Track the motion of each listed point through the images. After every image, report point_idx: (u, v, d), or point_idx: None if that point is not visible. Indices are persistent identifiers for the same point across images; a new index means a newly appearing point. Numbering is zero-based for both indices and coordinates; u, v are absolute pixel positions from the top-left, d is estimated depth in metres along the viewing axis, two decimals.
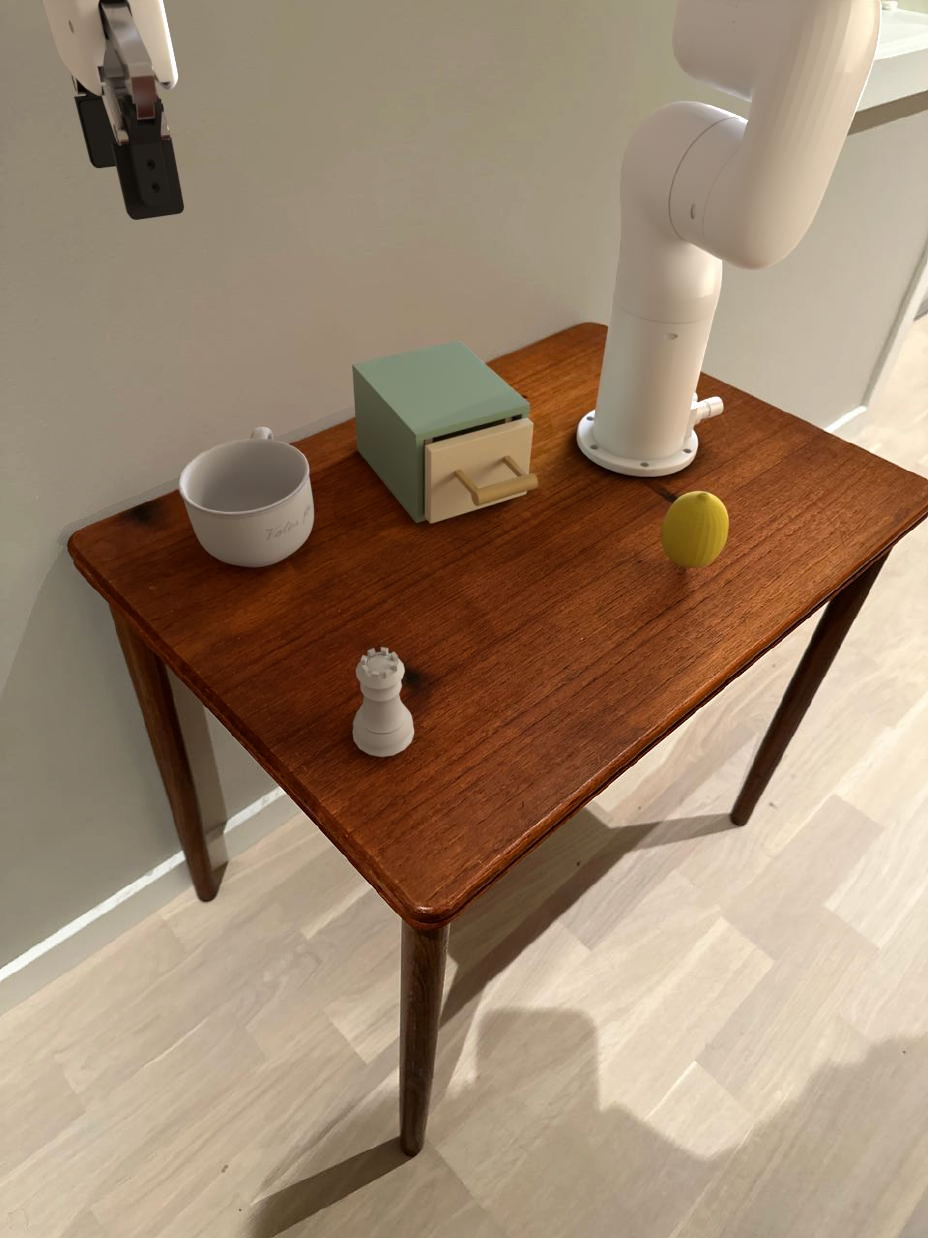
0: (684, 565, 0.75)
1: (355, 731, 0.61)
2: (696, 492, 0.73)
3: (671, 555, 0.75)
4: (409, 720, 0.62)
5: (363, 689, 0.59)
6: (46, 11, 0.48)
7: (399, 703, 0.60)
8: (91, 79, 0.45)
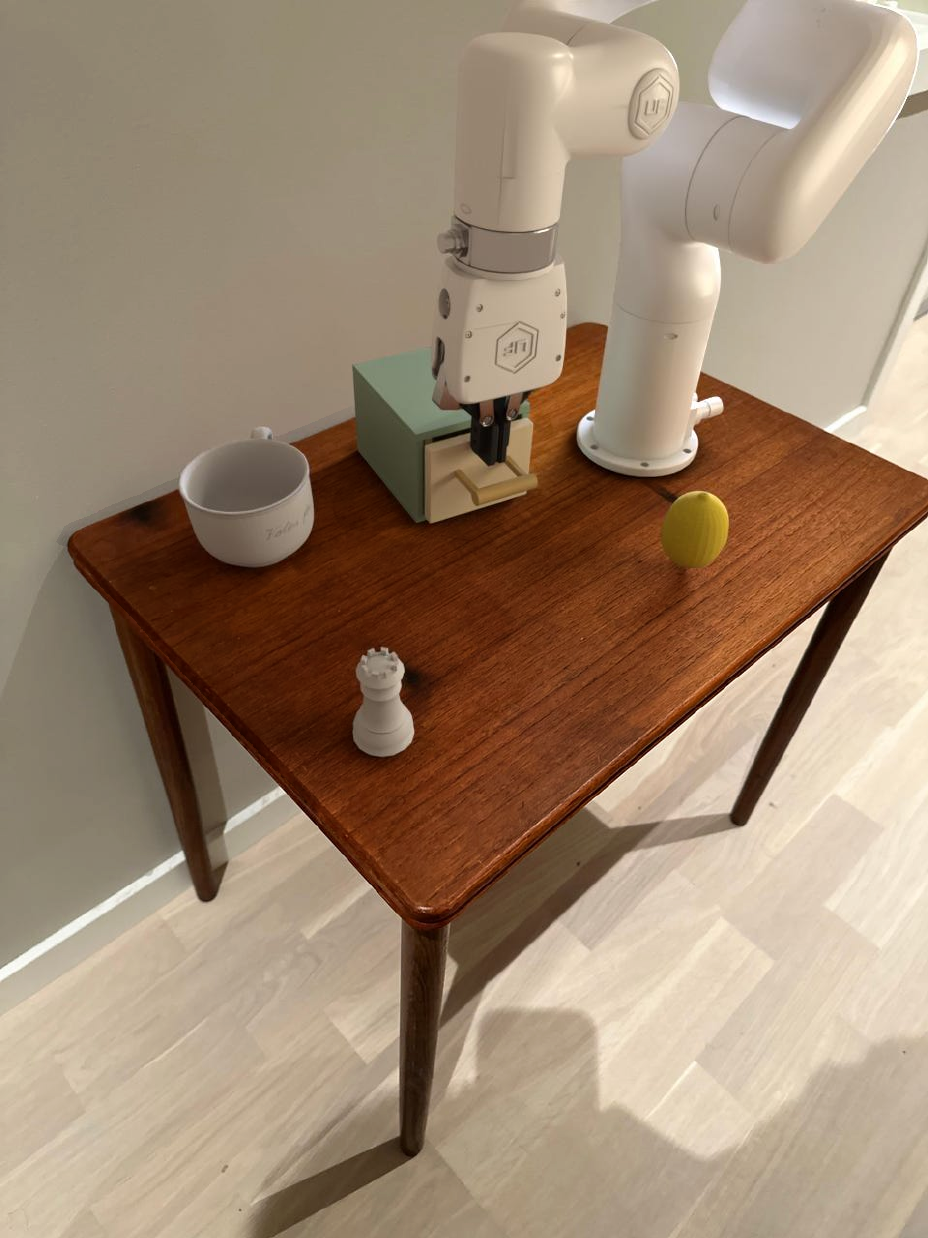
0: (684, 565, 0.75)
1: (355, 731, 0.61)
2: (696, 492, 0.73)
3: (671, 555, 0.75)
4: (409, 720, 0.62)
5: (363, 689, 0.59)
6: None
7: (399, 703, 0.60)
8: None
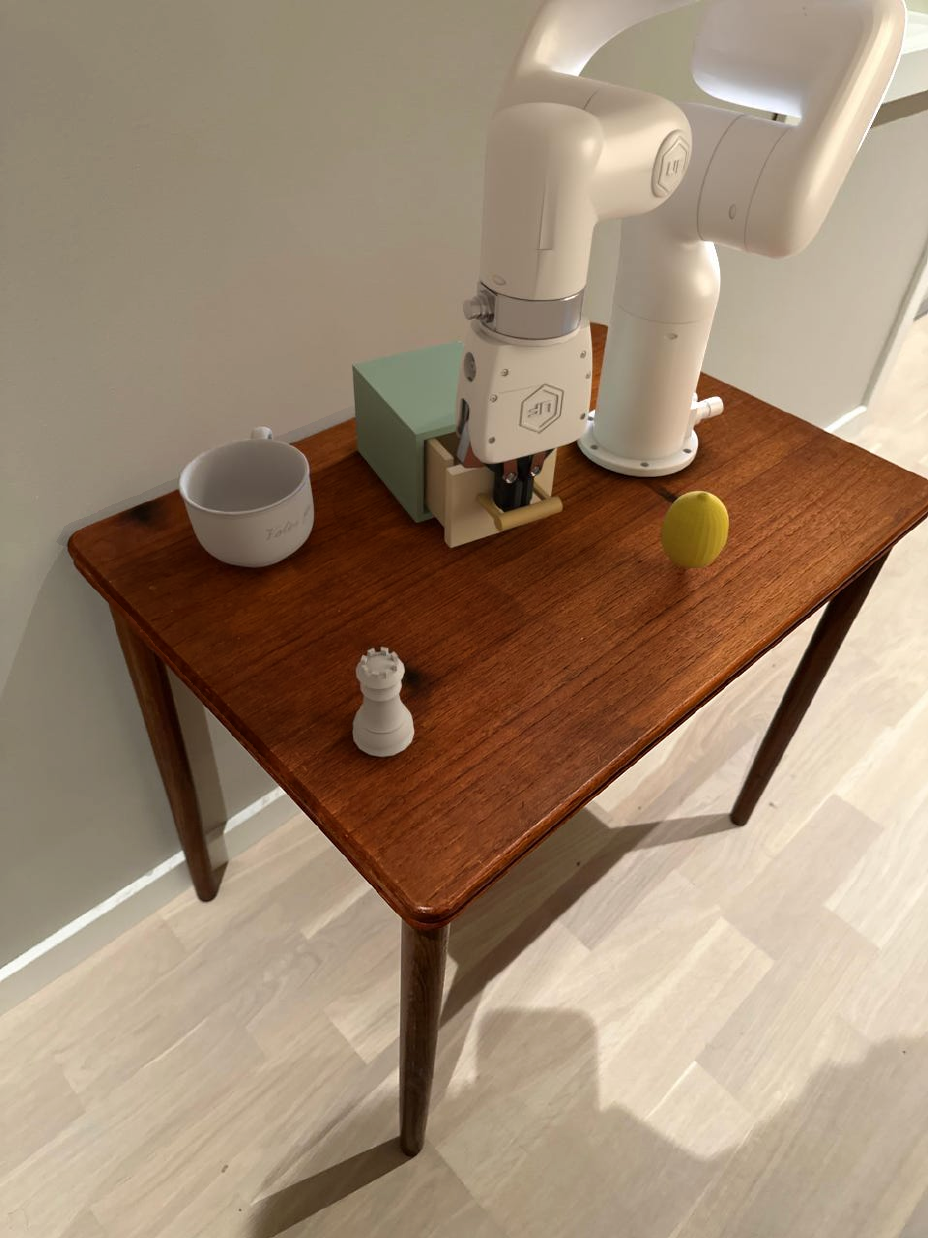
0: (684, 565, 0.75)
1: (355, 731, 0.61)
2: (696, 492, 0.73)
3: (671, 555, 0.75)
4: (409, 720, 0.62)
5: (363, 689, 0.59)
6: None
7: (399, 703, 0.60)
8: None
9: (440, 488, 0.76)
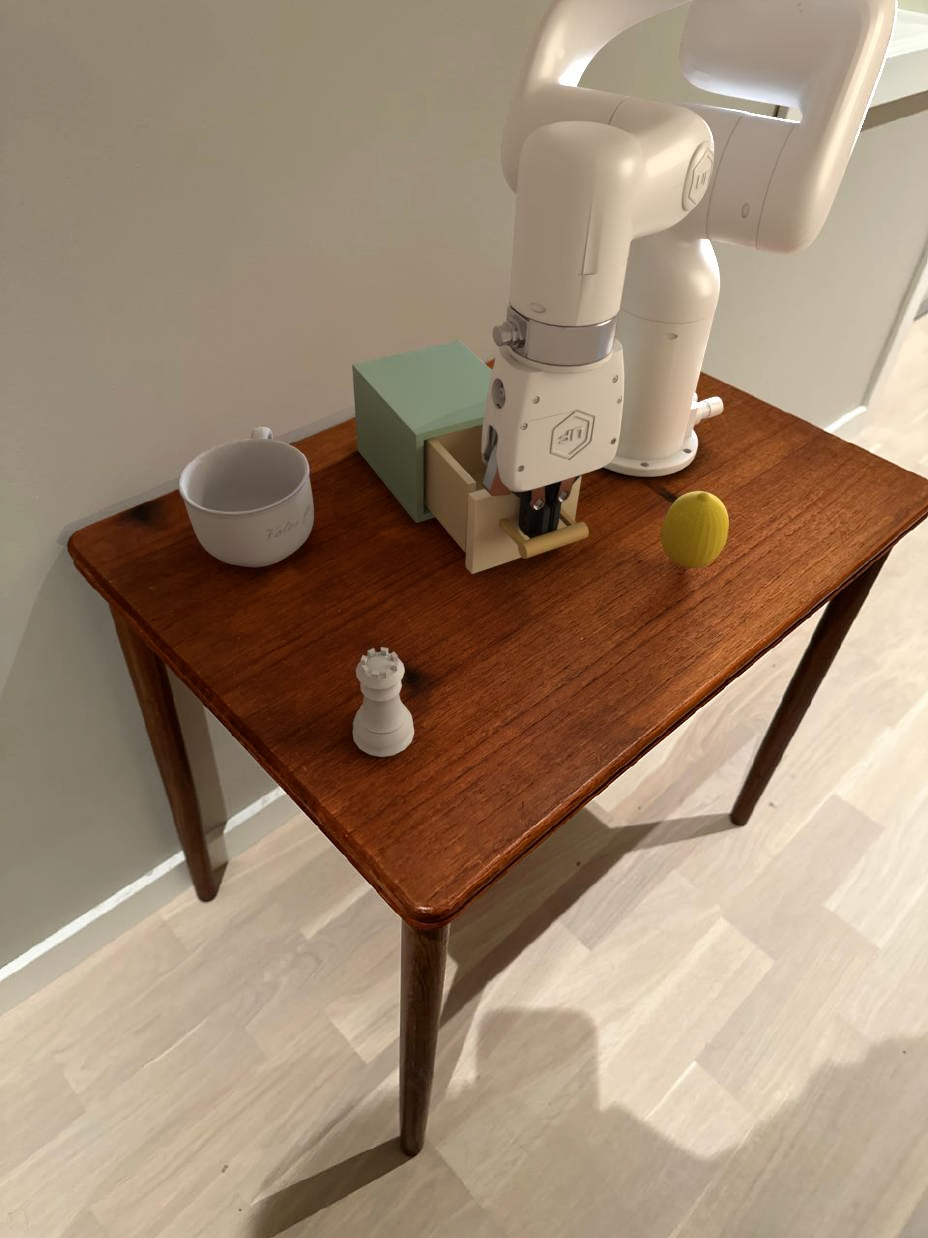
0: (684, 565, 0.75)
1: (355, 731, 0.61)
2: (696, 492, 0.73)
3: (671, 555, 0.75)
4: (409, 720, 0.62)
5: (363, 689, 0.59)
6: None
7: (399, 703, 0.60)
8: None
9: (461, 512, 0.74)
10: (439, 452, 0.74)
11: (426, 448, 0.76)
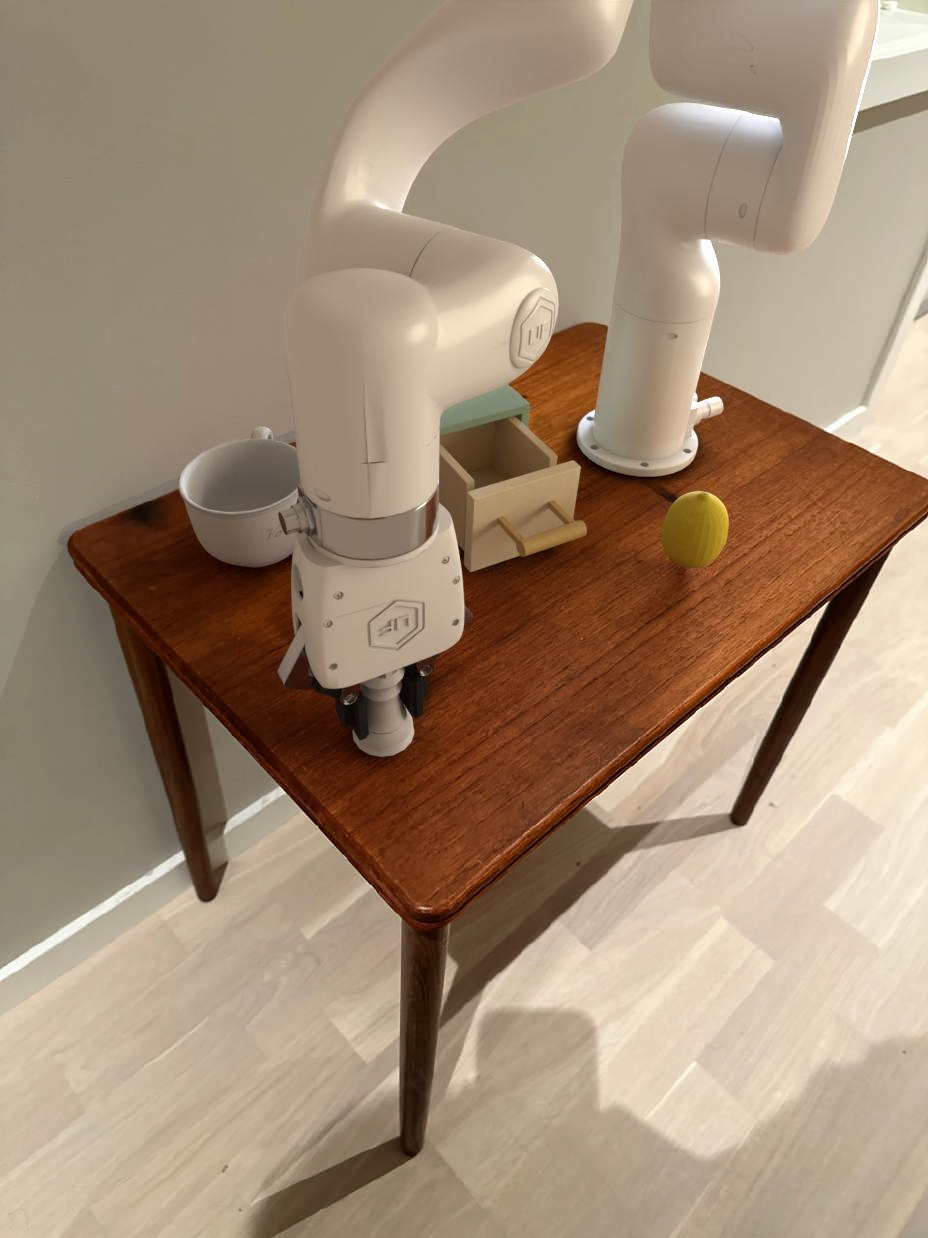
0: (684, 565, 0.75)
1: None
2: (696, 492, 0.73)
3: (671, 555, 0.75)
4: (409, 720, 0.62)
5: (363, 689, 0.59)
6: None
7: (399, 703, 0.60)
8: None
9: (460, 511, 0.74)
10: None
11: None
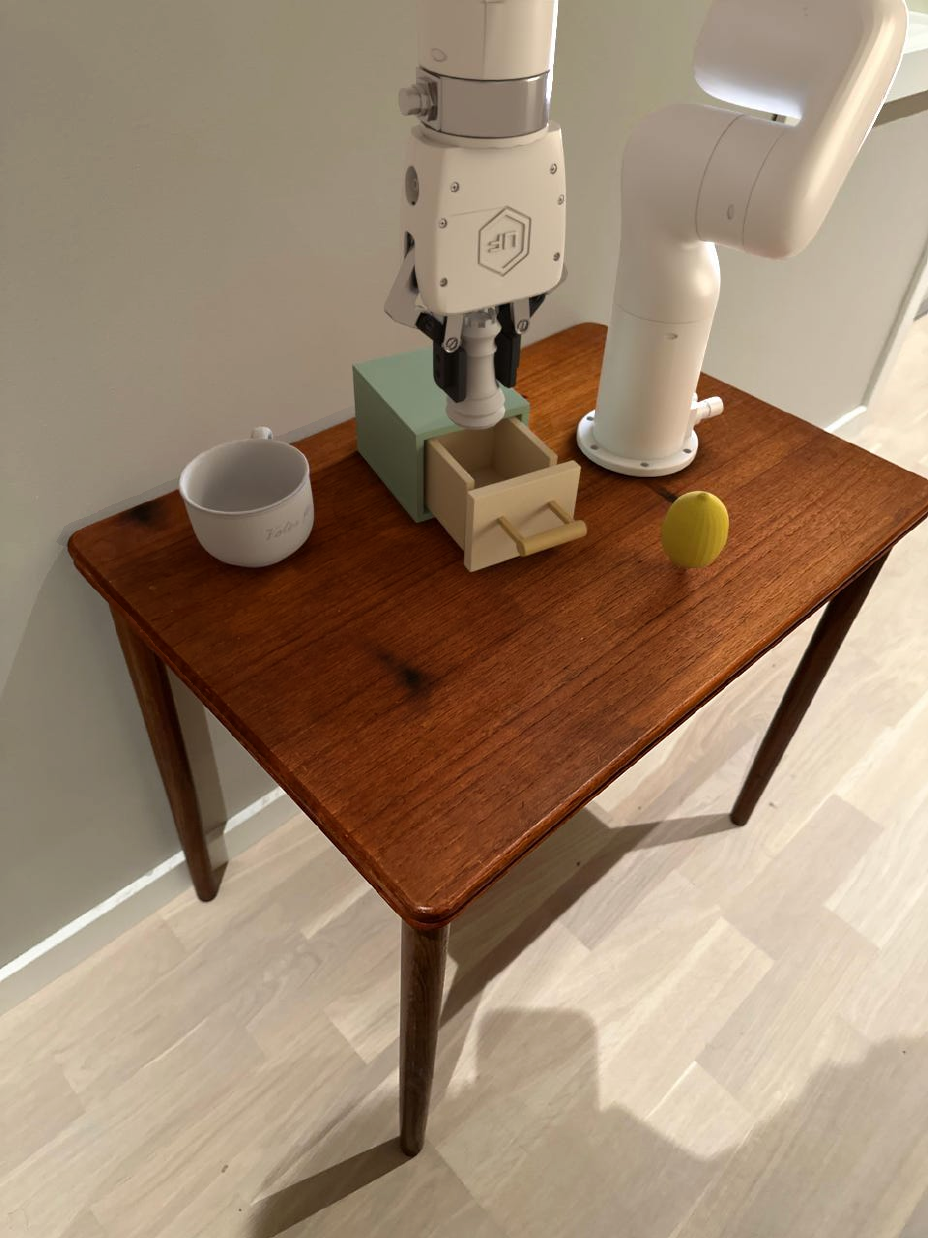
0: (684, 565, 0.75)
1: (449, 402, 0.63)
2: (696, 492, 0.73)
3: (671, 555, 0.75)
4: (501, 393, 0.63)
5: None
6: None
7: (493, 368, 0.61)
8: None
9: (460, 511, 0.74)
10: (438, 450, 0.74)
11: (425, 446, 0.77)
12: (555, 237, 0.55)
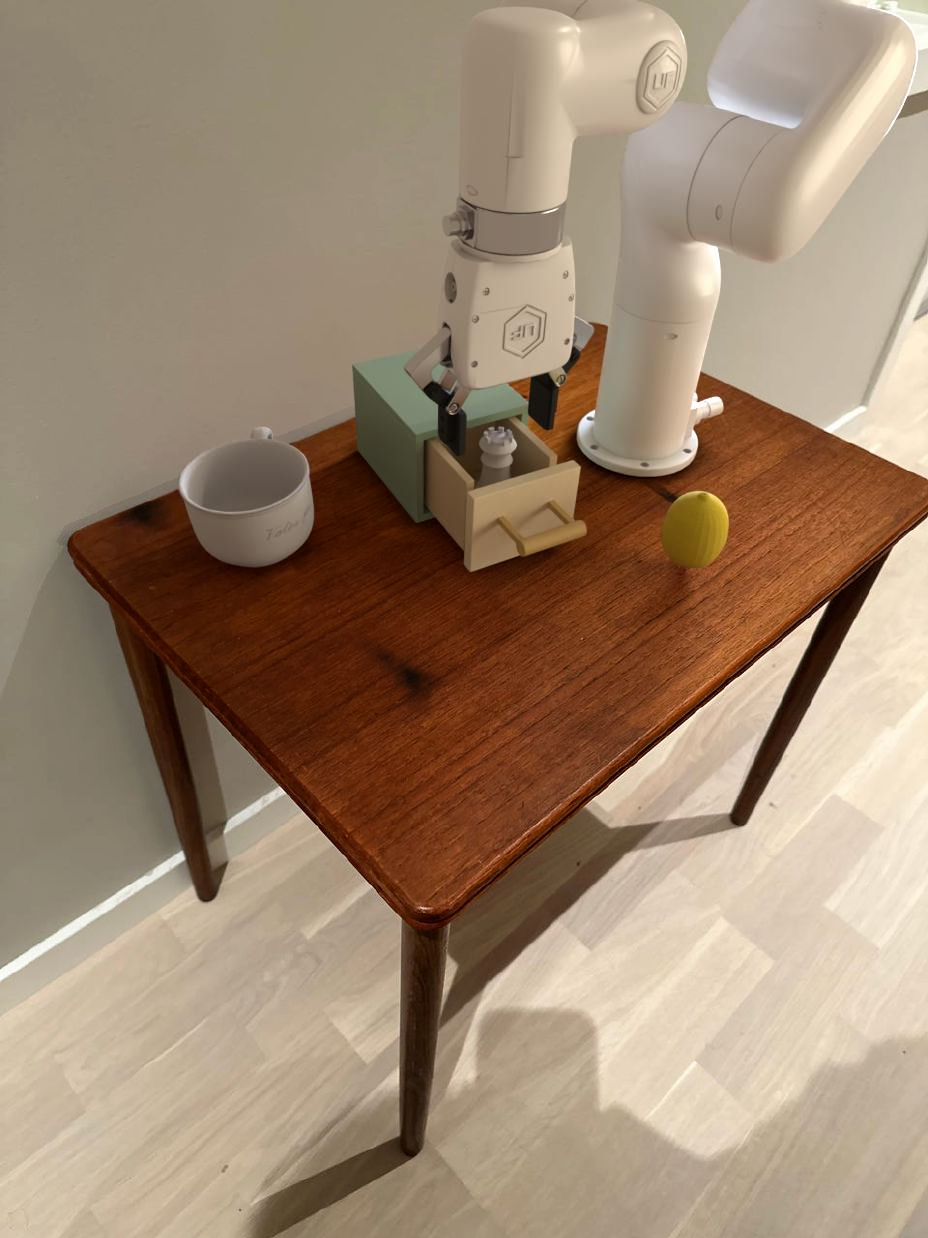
0: (684, 565, 0.75)
1: None
2: (696, 492, 0.73)
3: (671, 555, 0.75)
4: None
5: (483, 459, 0.75)
6: None
7: (509, 475, 0.77)
8: None
9: (460, 510, 0.74)
10: (437, 450, 0.74)
11: (425, 446, 0.77)
12: (566, 326, 0.66)
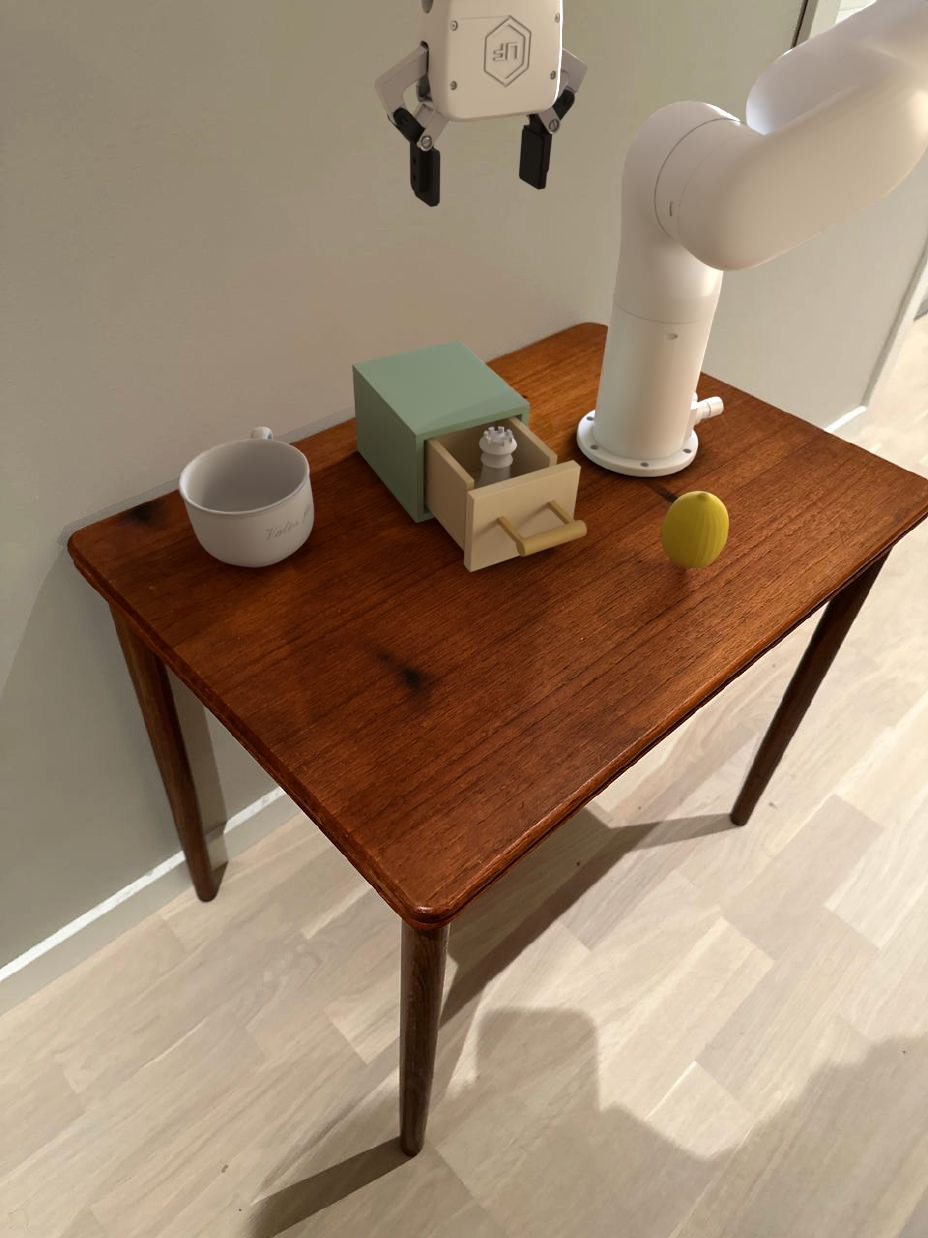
0: (684, 565, 0.75)
1: None
2: (696, 492, 0.73)
3: (671, 555, 0.75)
4: None
5: (483, 459, 0.75)
6: None
7: (509, 475, 0.77)
8: None
9: (460, 510, 0.74)
10: (437, 450, 0.74)
11: (425, 446, 0.77)
12: (552, 55, 0.62)
